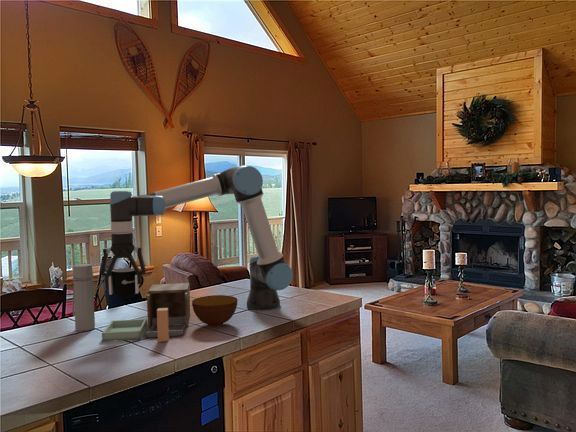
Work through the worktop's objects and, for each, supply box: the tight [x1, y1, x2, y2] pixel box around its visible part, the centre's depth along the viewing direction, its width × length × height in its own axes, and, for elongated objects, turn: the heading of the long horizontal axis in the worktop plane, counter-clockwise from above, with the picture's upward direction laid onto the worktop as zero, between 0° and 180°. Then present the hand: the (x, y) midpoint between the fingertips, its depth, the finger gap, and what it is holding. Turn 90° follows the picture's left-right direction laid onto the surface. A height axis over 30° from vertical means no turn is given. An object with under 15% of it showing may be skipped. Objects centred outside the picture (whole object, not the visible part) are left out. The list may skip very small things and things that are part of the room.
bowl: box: [191, 294, 239, 329], centre depth 190 cm, size 18×18×10 cm
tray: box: [101, 318, 148, 342], centre depth 181 cm, size 13×16×3 cm
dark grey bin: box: [146, 308, 186, 343], centre depth 181 cm, size 13×21×11 cm, turn 8°
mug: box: [111, 267, 145, 299], centre depth 183 cm, size 12×9×10 cm
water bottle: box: [70, 263, 96, 332], centre depth 187 cm, size 9×8×25 cm
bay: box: [146, 282, 191, 330], centre depth 195 cm, size 15×17×14 cm
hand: (124, 293), depth 180 cm, fingers closed on mug, 9 cm apart
